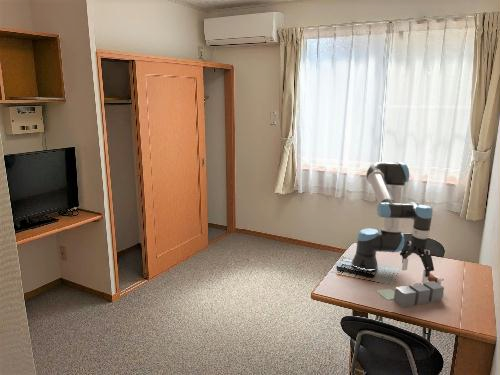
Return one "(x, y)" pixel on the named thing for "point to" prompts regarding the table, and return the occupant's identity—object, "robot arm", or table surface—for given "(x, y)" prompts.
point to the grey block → (404, 296)
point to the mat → (387, 294)
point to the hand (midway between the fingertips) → (414, 275)
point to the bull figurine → (434, 279)
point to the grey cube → (434, 291)
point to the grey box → (420, 293)
